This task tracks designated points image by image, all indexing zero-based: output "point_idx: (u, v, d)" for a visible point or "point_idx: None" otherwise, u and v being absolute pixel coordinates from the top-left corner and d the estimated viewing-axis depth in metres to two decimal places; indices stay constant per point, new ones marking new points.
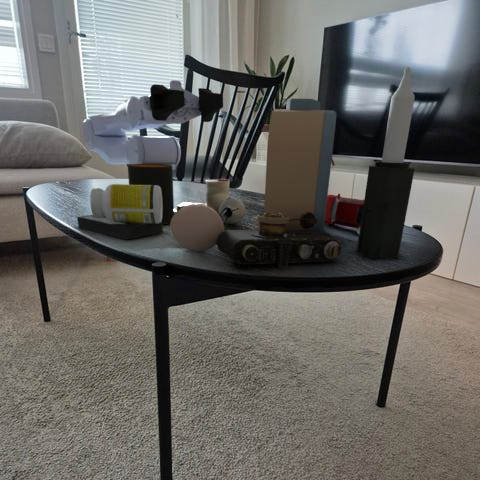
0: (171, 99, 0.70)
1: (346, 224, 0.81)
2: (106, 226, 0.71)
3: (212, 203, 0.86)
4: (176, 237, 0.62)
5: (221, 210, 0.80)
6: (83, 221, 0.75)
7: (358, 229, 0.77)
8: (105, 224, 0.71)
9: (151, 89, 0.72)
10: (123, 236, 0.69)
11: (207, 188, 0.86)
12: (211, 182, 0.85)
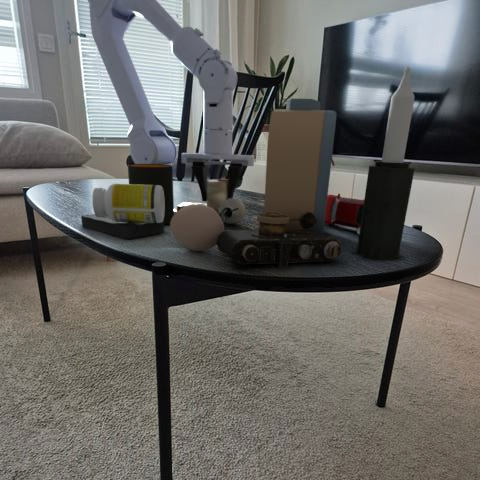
0: None
1: (346, 224, 0.81)
2: (108, 226, 0.71)
3: (212, 203, 0.86)
4: (176, 237, 0.62)
5: (221, 210, 0.80)
6: (86, 220, 0.76)
7: (358, 229, 0.77)
8: (107, 223, 0.71)
9: (192, 167, 0.84)
10: (124, 235, 0.69)
11: (207, 188, 0.86)
12: (211, 182, 0.85)
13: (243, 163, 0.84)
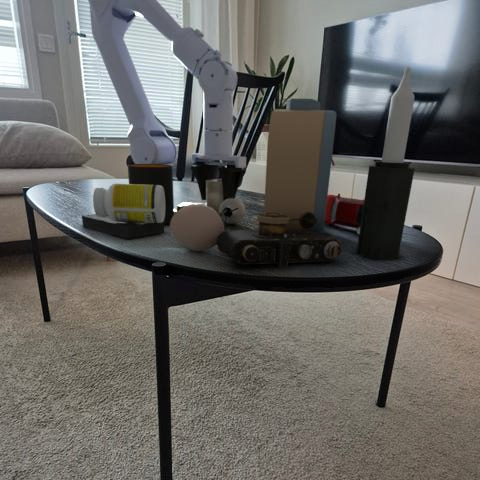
0: None
1: (346, 224, 0.81)
2: (108, 225, 0.72)
3: (206, 202, 0.87)
4: (176, 237, 0.62)
5: (221, 210, 0.80)
6: (87, 220, 0.76)
7: (358, 229, 0.77)
8: (107, 223, 0.72)
9: None
10: (124, 235, 0.69)
11: None
12: (206, 181, 0.86)
13: (234, 164, 0.81)
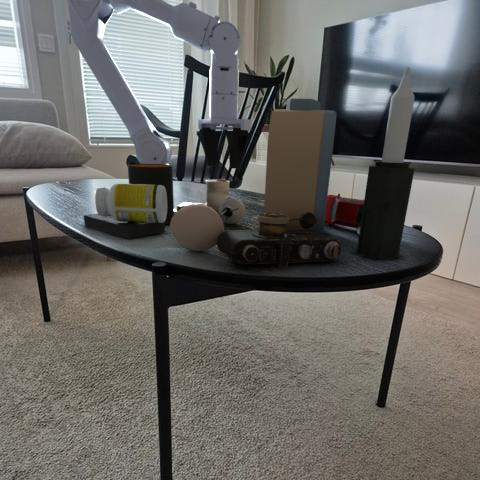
0: (237, 153, 0.86)
1: (346, 224, 0.81)
2: (109, 225, 0.72)
3: (206, 202, 0.87)
4: (176, 237, 0.62)
5: (221, 210, 0.80)
6: (89, 220, 0.76)
7: (358, 229, 0.77)
8: (108, 223, 0.72)
9: (250, 134, 0.85)
10: (124, 235, 0.69)
11: None
12: (206, 181, 0.86)
13: None
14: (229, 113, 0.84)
